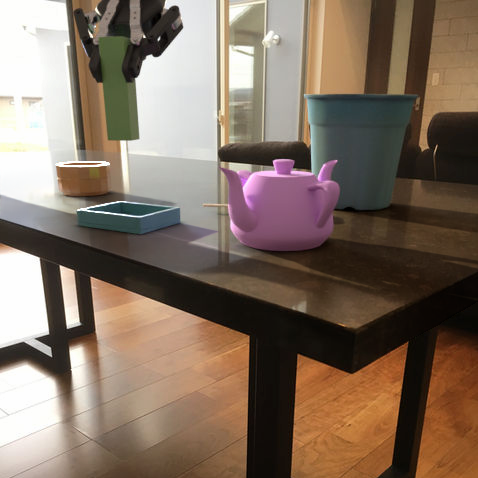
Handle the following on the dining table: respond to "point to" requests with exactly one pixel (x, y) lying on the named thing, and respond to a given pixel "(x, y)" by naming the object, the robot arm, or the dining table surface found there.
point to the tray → (128, 217)
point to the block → (118, 91)
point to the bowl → (84, 178)
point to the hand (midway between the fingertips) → (112, 76)
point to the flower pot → (359, 143)
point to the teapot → (282, 206)
